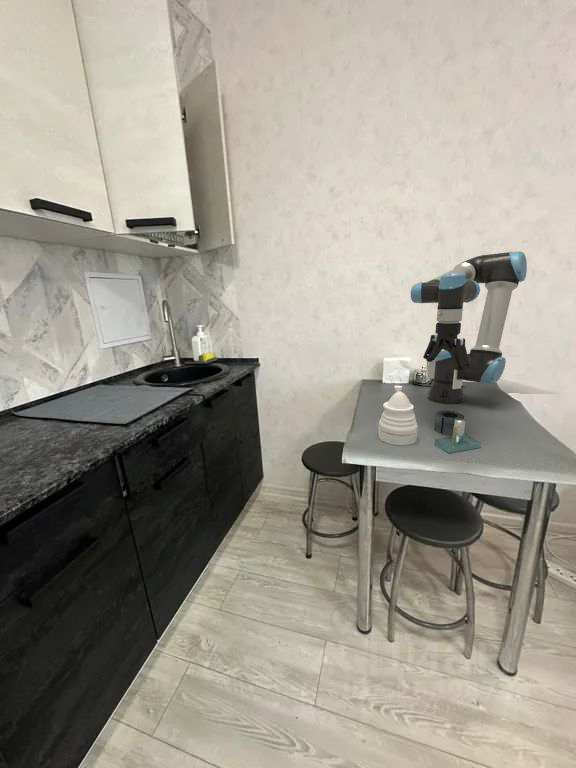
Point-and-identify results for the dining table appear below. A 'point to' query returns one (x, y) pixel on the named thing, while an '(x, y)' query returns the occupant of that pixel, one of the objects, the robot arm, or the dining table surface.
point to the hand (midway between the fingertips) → (442, 383)
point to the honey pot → (398, 420)
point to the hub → (446, 421)
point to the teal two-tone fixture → (457, 439)
